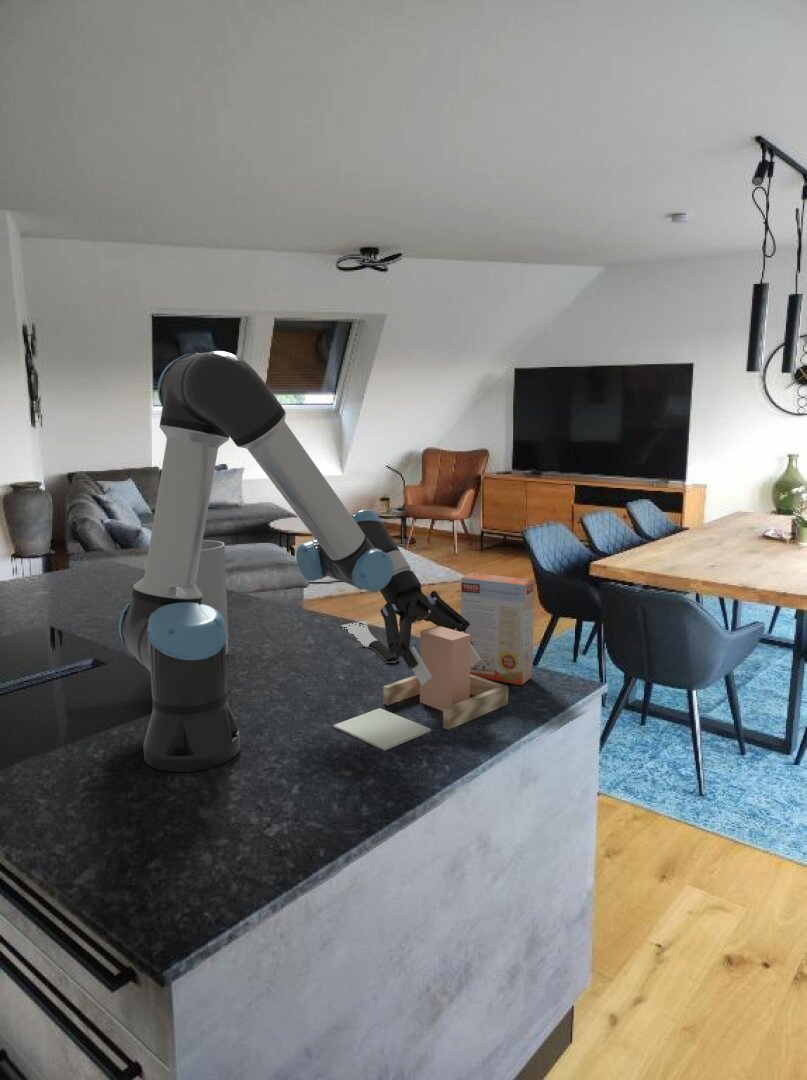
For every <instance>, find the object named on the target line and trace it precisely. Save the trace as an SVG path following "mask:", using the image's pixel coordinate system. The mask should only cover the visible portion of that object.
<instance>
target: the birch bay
mask: <svg viewBox="0 0 807 1080" xmlns="http://www.w3.org/2000/svg"><path fill="white" fill-rule="evenodd" d="M382 687H383V688H382V689H383V690H382V691H383V693H382V703H383V705H385V704H386V705H385V706H387V705H388V706H391V705H394V704H396V703H395V702H397V703H399V702H402V701H404V699H405V700H407V699H410V698H413V697H415V696H418V695H420V682H419V680H418V678H417V677H416V675H415V674H414V675H413V676H409V677H406V678H404V679H403V678H402V679H400V680H398V681H395V682H392V683H388V684H386V685H383V686H382ZM470 695H471V696H472V697H470V698H469V699H467V700H464V701H462V702H459V703H457V704H454V705H452V706H449V707H447V708H444V709H443V711H442V728H443V729H445V730H451V729H453V728H456V727H458V726H461V725H463V724H465V723H467V722H469V721H472V720H475V719H477V718H479V717H482V716H484V715H486V714H488V713H491V712H494V711H495V710H498V709H500V708H503V707H505V706H508V704H509V686H508V685H505V684H503V683H499V682H497V681H496V682H495V681H494V680H490V679H485V678H481V677H478V676H474V675H471V674H470ZM401 700H402V701H401ZM393 703H394V704H393ZM390 704H391V705H390Z"/></svg>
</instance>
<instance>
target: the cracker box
mask: <svg viewBox="0 0 807 1080" xmlns="http://www.w3.org/2000/svg"><path fill="white" fill-rule="evenodd" d="M535 581H536V579H527V578H519V577H511V576H504V575H496V574H493V575H492V574H487V573H486V574H485V573H478V572H471V573H469V574H467V575H464V576H463V577H461V584H460V585H461V587H460V588H461V591H460V593H461V594H460V615H461V616H462V617H463V618H464V619H465V620H467V621H468V622H469V624H470V626H468V628H467V629H466V630H465V631H466V634H470V635H471V641H472V643H473V647H474V649H475V650H476V652H477V653H478V655H479V657H480V658H481V660H480V661H479V662H478V663H477V664H476V665H475V666H474V667H470V674H471V675H474V676H478V677H481V678H484V679H487V680H490V681H494V682H495V681H496V682H502V683H507V684H512V685H517V686H523V685H524V684H525V683H527V682H528V681H529V680H530V679H532V678H533V657H534V656H533V654H534V620H535ZM461 625H462V624H461Z"/></svg>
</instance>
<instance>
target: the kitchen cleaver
mask: <svg viewBox="0 0 807 1080" xmlns="http://www.w3.org/2000/svg"><path fill="white" fill-rule="evenodd" d="M357 622H358V623H357ZM352 623H353V624H352ZM359 623H363V624H364V625H362V624H359ZM355 624H356V625H355ZM365 624H366V625H365ZM340 625H341V626H342V627H347V628H345V629H348V632H349V634H350V633H351V634H354V636H355V637H356V638H358V639H357V640H358V641H360V642H361V644H363V646H364V645H365V648H369V649H370V648H372V649H374V650H375V651H376V652H377V653H378V654H377V653H376V652H375V651H374V650H373V651H374V652H375V653H376V654H377V655H378V656H379V657H380V658H381V659H383V660H384V662H385V664H386V663H393V662H398V663H399V662H400V657H397V656H396V655H395V653H394V654H390V653H389V651H388V646H386V645H385V644H383V643H382V642H381V641H379V640H378V639H377V638H376V637H375V636H374V635H372V633H371V631H370V630H369V628H368V622H367V621H366V620H365V621H364V620H362V621H356V623H355V622H350V623H346V624H345V623H344V624H340ZM349 625H350V626H349ZM359 625H361V626H359ZM363 626H364V627H363ZM343 629H344V628H343ZM372 649H371V650H372Z"/></svg>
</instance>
